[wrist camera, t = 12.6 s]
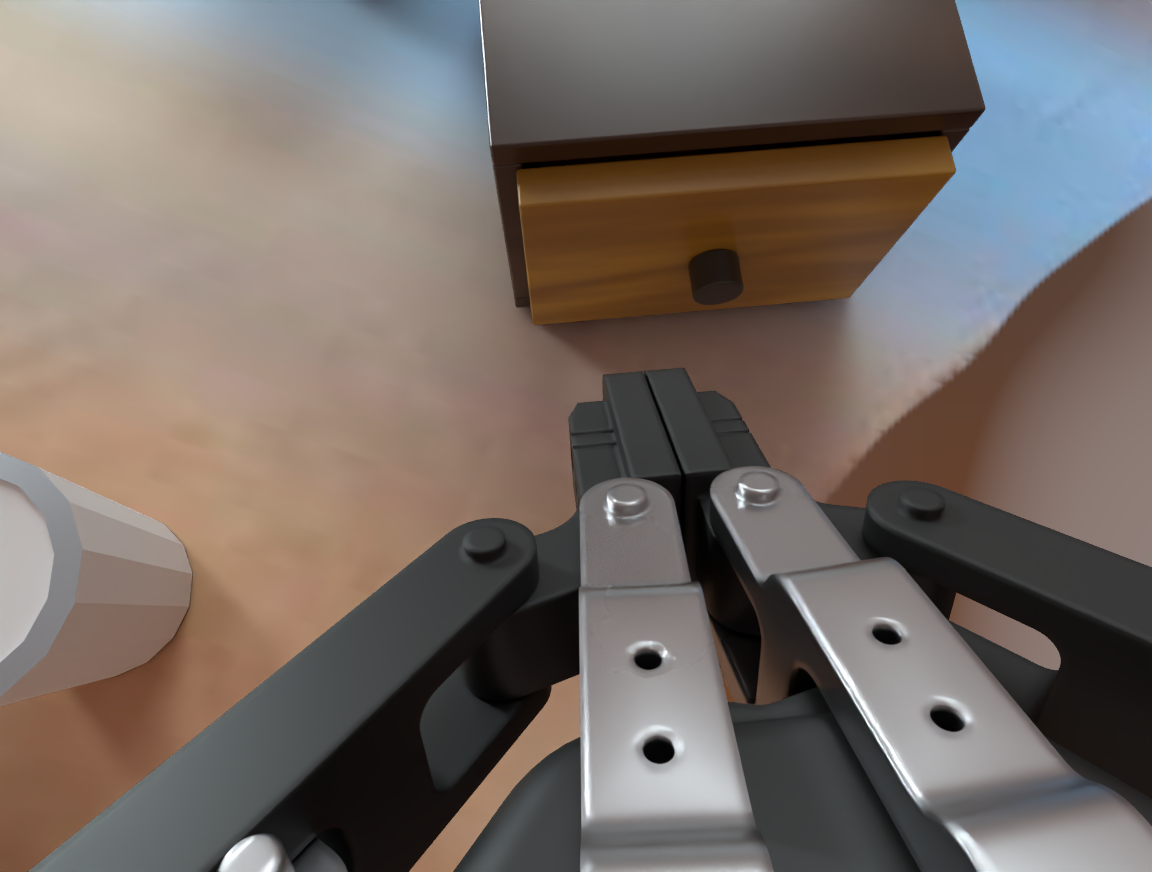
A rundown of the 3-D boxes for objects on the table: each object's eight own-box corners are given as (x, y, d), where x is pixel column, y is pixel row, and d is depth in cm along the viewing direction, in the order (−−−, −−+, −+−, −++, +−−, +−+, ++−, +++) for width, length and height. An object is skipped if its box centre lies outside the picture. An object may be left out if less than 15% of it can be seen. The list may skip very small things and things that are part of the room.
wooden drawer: (856, 328, 27) (968, 210, 19) (535, 356, 26) (522, 247, 19) (787, 6, 31) (859, -197, 23) (506, 26, 30) (485, -174, 23)
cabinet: (850, 279, 28) (987, 109, 19) (515, 308, 28) (489, 148, 19) (786, -20, 32) (875, -285, 23) (490, 1, 32) (457, -260, 22)
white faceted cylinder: (101, 458, 26) (-62, 399, 19) (251, 560, 25) (136, 536, 19) (-36, 625, 25) (-264, 623, 18) (119, 740, 24) (-60, 784, 17)
